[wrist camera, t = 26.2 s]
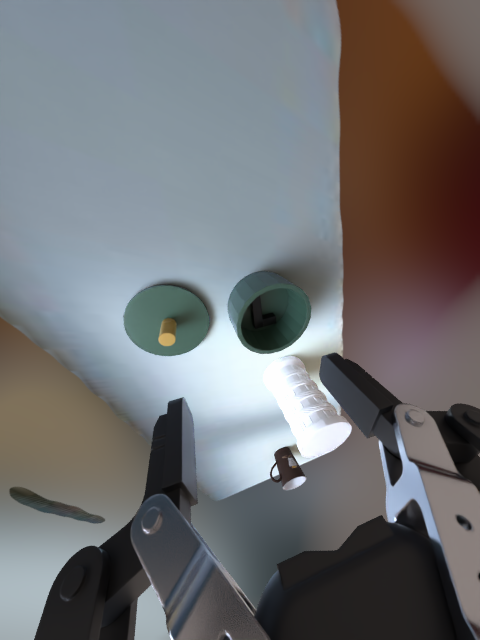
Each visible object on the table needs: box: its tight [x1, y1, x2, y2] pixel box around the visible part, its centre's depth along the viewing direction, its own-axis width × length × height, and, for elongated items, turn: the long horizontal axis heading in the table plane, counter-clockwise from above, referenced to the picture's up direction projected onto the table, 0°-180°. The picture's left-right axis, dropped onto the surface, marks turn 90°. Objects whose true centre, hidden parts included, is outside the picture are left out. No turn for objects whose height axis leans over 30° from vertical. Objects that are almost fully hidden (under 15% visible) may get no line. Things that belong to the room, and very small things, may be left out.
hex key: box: [250, 295, 277, 329], centre depth 37 cm, size 8×5×2 cm, turn 8°
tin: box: [228, 271, 311, 354], centre depth 35 cm, size 14×14×8 cm
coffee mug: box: [270, 447, 306, 490], centre depth 68 cm, size 12×9×10 cm
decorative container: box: [263, 356, 351, 458], centre depth 43 cm, size 12×12×18 cm
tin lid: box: [123, 285, 209, 356], centre depth 33 cm, size 15×15×6 cm
